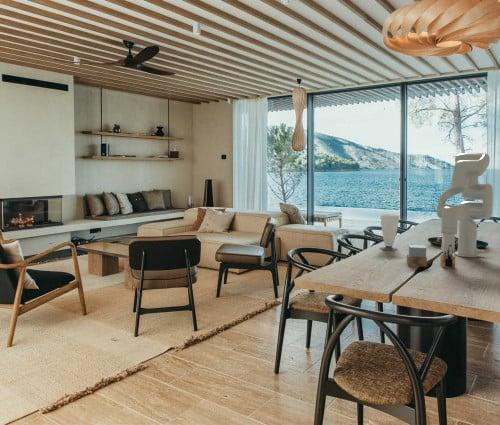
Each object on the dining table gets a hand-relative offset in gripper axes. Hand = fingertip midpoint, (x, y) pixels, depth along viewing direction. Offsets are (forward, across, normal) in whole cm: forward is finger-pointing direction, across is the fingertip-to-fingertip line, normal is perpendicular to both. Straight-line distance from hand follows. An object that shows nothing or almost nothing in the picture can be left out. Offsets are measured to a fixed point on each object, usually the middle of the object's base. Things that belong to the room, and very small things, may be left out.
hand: (447, 264), depth 234 cm
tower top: (-4, 0, -15) cm, 15 cm away
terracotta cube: (+1, 0, 0) cm, 1 cm away
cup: (+1, -43, -27) cm, 51 cm away
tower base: (+1, 0, -15) cm, 15 cm away
